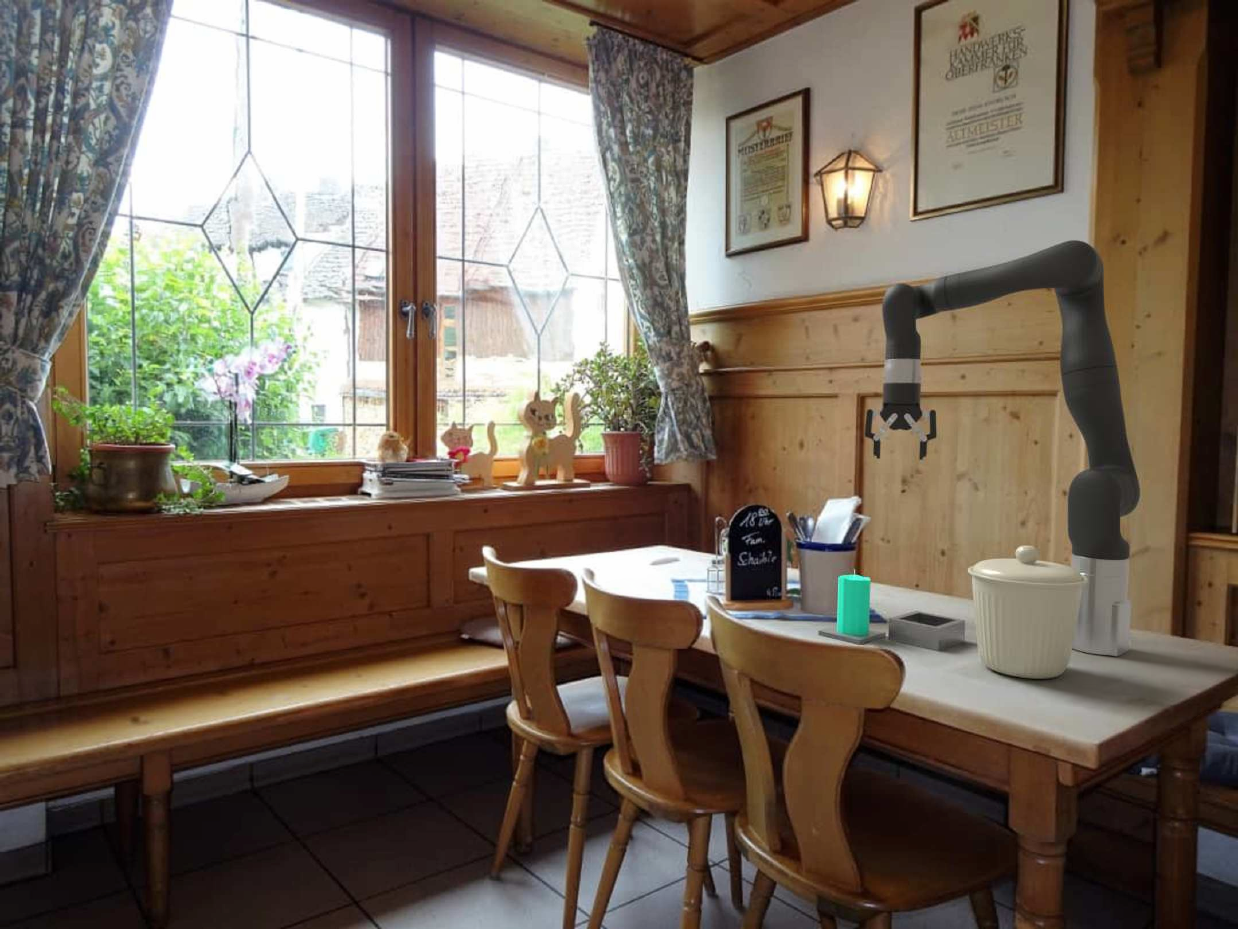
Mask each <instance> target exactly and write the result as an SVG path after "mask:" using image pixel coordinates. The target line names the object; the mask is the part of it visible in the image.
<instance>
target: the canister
mask: <svg viewBox="0 0 1238 929" xmlns="http://www.w3.org/2000/svg"><path fill="white" fill-rule="evenodd" d="M1039 556H1040V551H1039V550H1038V549H1037V548H1036V547H1035V546H1032V545H1020V546H1019V547H1017V548H1016V550H1015V558H991V559H985V560H982V561H981V560H980V561H978V562H977V563H976V564H974V565H972V566H969V567H968V568H967V572H968V574H969V575H970V576H971V581H972V584H971V585H972V586H971V587H972V600H973V609H974V610H973V611H974V623H975V625H974V626H975V634H976V642H977V643H976V644H977V650H978V651H977V652H978V654H979V658H980V660H981V662H982V663H983V664H984V666H986V667H988V669H990V670H992V671H995V672H997V673H999V674H1000V673H1001V675H1005V676H1006V675H1007V676H1011V677H1017V678H1021V679H1022V678H1023V679H1033V680H1035V679H1037V680H1039V679H1043V680H1044V679H1052V678H1056V677H1059V676H1060V675H1062V674H1063V673H1064V672H1065V671H1066V669H1067V668H1068V666H1069V663H1070V660H1071V655H1072V650H1073V648H1072V646H1073V641H1074V636H1075V631H1076V625H1077V619H1078V613H1079V607H1080V602H1081V595H1082V589H1083V585H1085V584H1086V583H1087V582H1088V578H1087V577H1086V576H1084V575H1081V574H1080V573H1079V572H1078V571H1077V570H1075V569H1073V568H1071V566H1068V565H1065V564H1060V563H1056V562H1051V561H1046V560H1039Z"/></svg>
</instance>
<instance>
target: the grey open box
mask: <svg viewBox="0 0 1238 929" xmlns="http://www.w3.org/2000/svg"><path fill="white" fill-rule="evenodd" d="M887 637H888V639H887V640H890V641H894V642H898V643H903V644H907V645H911V646H914V647H920V648H924V649H929V650H933V651H941V650H945V649H946V648H950V647H953V646H955V645H959V644H961V643H964V642H965V640H966V639H965V638H966V620H965V619H960V618H955V617H949V616H945V615H939V614H935V613H930V612H924V611H918V610H914V611H910V612H907V613H903V614H901V615H897V616H893V617H890V618H889V617H888V636H887Z"/></svg>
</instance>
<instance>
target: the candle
mask: <svg viewBox="0 0 1238 929" xmlns="http://www.w3.org/2000/svg"><path fill="white" fill-rule="evenodd" d="M837 580H838V581H837V584H838V587H837V612H836V613H837V614H836V615H837V617H836V619H837V620H836V626H837V631H838V632H840V633H842V634H847V635H866V634H868V633H869V629H870V614H871V613H870V612H871V608H870V606H871V578H870V577H865V576H861V575H858V574H856V569H855V568H854V569H853V574H845V575H840V576H838V578H837Z"/></svg>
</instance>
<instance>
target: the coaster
mask: <svg viewBox="0 0 1238 929" xmlns="http://www.w3.org/2000/svg"><path fill="white" fill-rule="evenodd" d="M817 633H818V635H819V636H823V637H826V638H830V639H835V640H839V641H843V642H847V643H852V644H856V645H862V644H864V643H863V642H866V643H869V642H872V641H875V640H878V639H881V638H882V639H883V638H885V637H886V634H887V633H886V631H881V630H878V629H873V628H869V633H868V634H866V635H847V634H842V633H840V632H838V631H837V625H834V626H830V627H827V628H822V629H819V630H818V632H817Z"/></svg>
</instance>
